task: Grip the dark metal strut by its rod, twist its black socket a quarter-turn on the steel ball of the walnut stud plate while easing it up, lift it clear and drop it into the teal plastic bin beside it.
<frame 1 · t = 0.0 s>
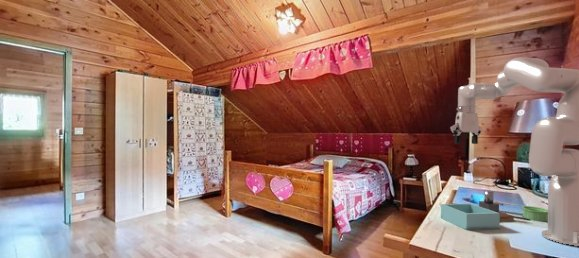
hand: (466, 143, 139), 31 cm above the table, tool pointing down, fingers open, 9 cm apart
ramekin: (535, 219, 117), on the table
bin: (468, 223, 110), on the table
stud plate: (488, 216, 119), on the table
adjustable wrench: (512, 207, 136), on the table
strut: (488, 212, 119), point 2 cm above the table, touching stud plate
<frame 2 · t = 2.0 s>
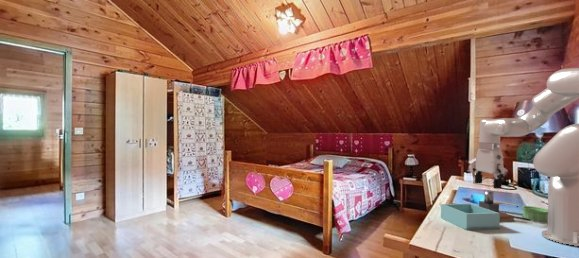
hand: (487, 185, 120), 14 cm above the table, tool pointing down, fingers open, 9 cm apart
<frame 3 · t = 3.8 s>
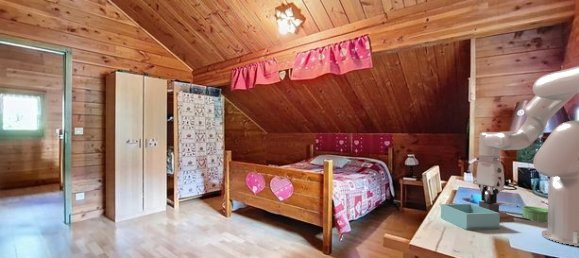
hand: (488, 201, 119), 7 cm above the table, tool pointing down, fingers closed on strut, 3 cm apart
strut: (488, 212, 119), point 2 cm above the table, touching gripper, stud plate
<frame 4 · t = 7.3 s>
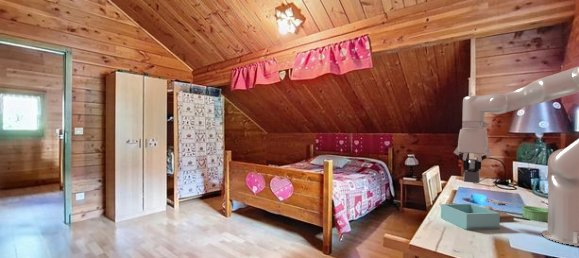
hand: (472, 170, 111), 21 cm above the table, tool pointing down, fingers closed on strut, 3 cm apart
strut: (471, 181, 111), point 17 cm above the table, touching gripper
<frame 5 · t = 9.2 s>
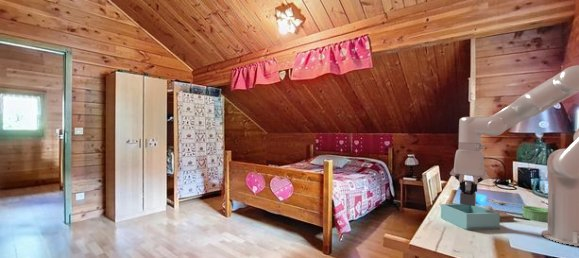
hand: (468, 192, 110), 13 cm above the table, tool pointing down, fingers closed on strut, 3 cm apart
strut: (467, 203, 110), point 8 cm above the table, touching gripper
when the fingers open (8 cm above the table, at t = 10.8 s): strut drops 2 cm, resting on bin.
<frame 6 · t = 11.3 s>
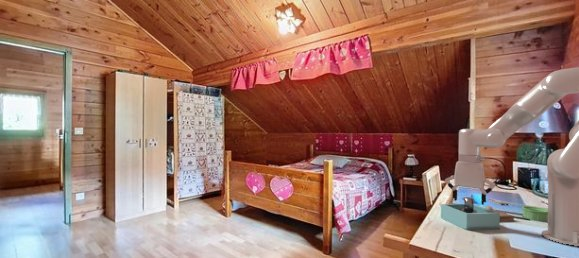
hand: (468, 201, 110), 9 cm above the table, tool pointing down, fingers open, 8 cm apart
strut: (468, 220, 110), point 1 cm above the table, touching bin
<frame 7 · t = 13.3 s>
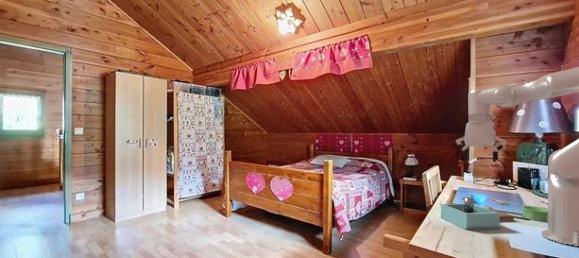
hand: (480, 160, 111), 25 cm above the table, tool pointing down, fingers open, 9 cm apart
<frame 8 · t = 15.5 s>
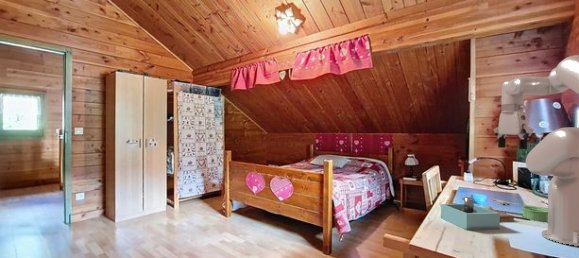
hand: (511, 148, 118), 30 cm above the table, tool pointing down, fingers open, 9 cm apart
at the end: strut inside the target area on the bin (0.1 cm from its centre), point 1.0 cm above the bin's base; the gripper is holding nothing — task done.
